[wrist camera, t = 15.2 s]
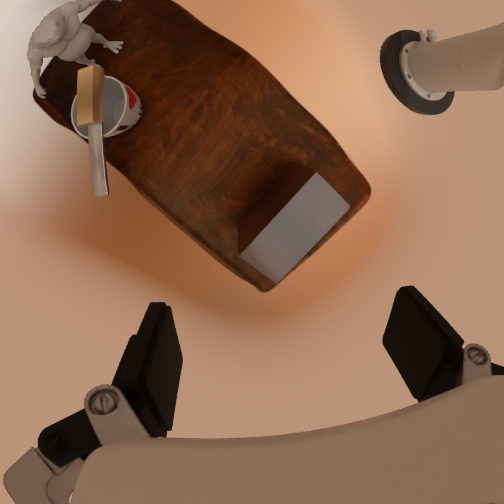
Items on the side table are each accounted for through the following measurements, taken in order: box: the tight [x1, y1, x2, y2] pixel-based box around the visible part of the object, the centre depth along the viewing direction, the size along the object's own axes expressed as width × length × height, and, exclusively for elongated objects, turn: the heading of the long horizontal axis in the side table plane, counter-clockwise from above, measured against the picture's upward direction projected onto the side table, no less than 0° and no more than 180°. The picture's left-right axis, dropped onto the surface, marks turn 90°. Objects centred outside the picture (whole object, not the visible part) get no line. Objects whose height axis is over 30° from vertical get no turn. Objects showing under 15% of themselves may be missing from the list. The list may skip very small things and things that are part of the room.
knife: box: [77, 65, 109, 197], centre depth 24 cm, size 16×2×3 cm, turn 1°
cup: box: [71, 76, 142, 139], centre depth 29 cm, size 8×8×10 cm
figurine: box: [27, 0, 123, 98], centre depth 21 cm, size 18×7×18 cm, turn 136°
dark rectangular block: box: [238, 162, 351, 284], centre depth 36 cm, size 13×6×12 cm, turn 139°
